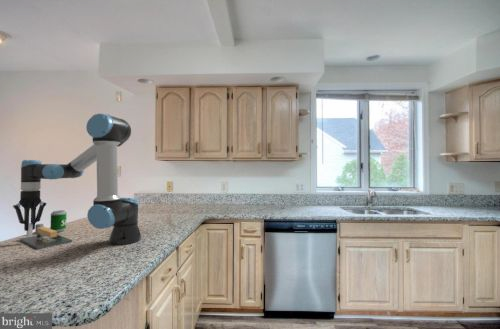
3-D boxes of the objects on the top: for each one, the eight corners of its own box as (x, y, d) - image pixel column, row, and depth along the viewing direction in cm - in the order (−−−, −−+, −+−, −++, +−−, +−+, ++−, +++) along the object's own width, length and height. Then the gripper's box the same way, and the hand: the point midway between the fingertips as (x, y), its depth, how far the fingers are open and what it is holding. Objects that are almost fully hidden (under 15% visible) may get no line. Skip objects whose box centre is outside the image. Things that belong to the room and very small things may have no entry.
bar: (57, 236, 123) (57, 228, 123) (49, 238, 121) (50, 230, 121) (41, 230, 134) (42, 223, 134) (34, 232, 131) (34, 224, 131)
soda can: (57, 233, 142) (57, 212, 142) (47, 232, 144) (47, 212, 144) (69, 230, 150) (69, 210, 150) (59, 229, 151) (59, 209, 151)
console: (71, 241, 127) (72, 235, 127) (37, 249, 115) (38, 242, 115) (52, 234, 139) (52, 229, 139) (20, 240, 127) (20, 234, 127)
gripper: (43, 188, 131) (42, 232, 131) (10, 190, 120) (9, 238, 120) (49, 189, 127) (48, 234, 127) (16, 191, 116) (14, 241, 116)
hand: (29, 236), depth 124 cm, fingers closed
